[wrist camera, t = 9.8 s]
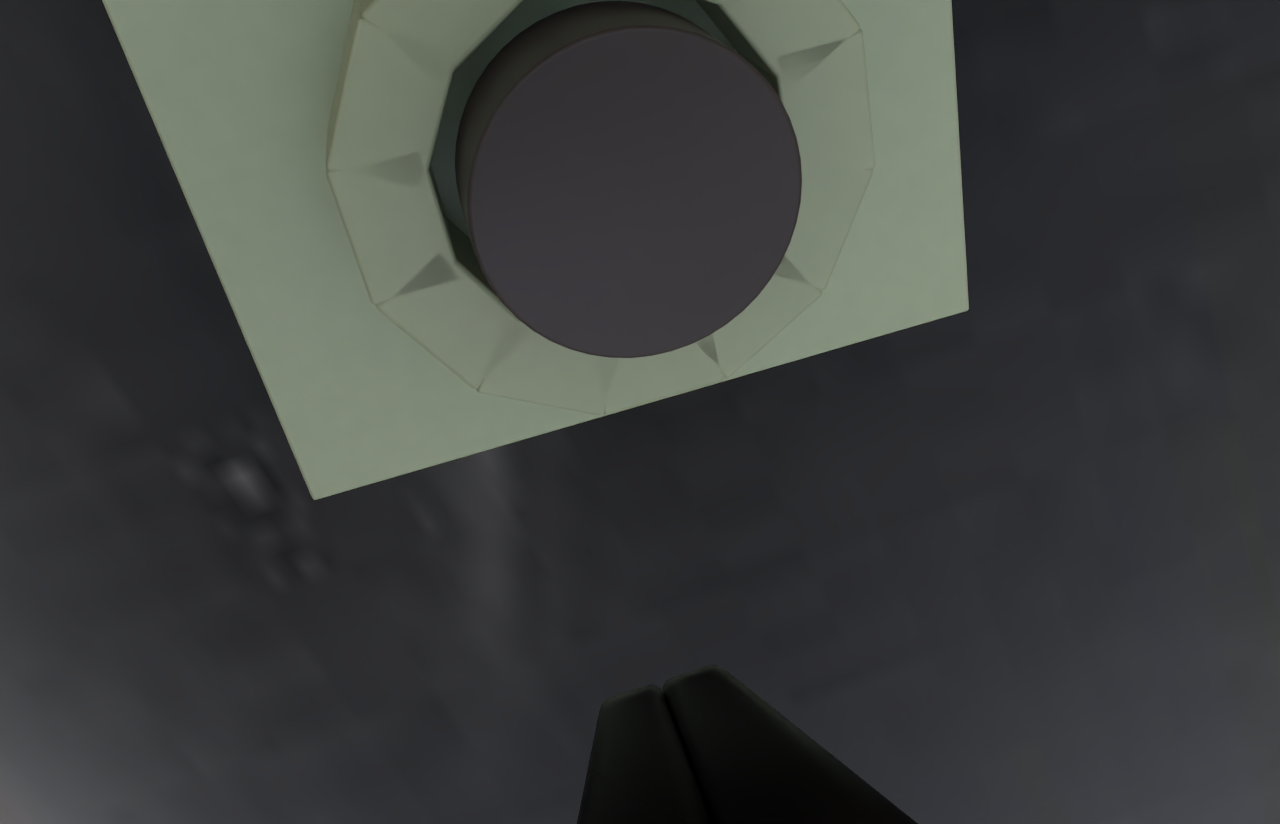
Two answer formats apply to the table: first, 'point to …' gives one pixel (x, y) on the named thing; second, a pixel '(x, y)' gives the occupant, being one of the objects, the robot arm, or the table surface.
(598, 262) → the power button
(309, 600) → the table surface
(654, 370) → the plug block
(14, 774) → the table surface
